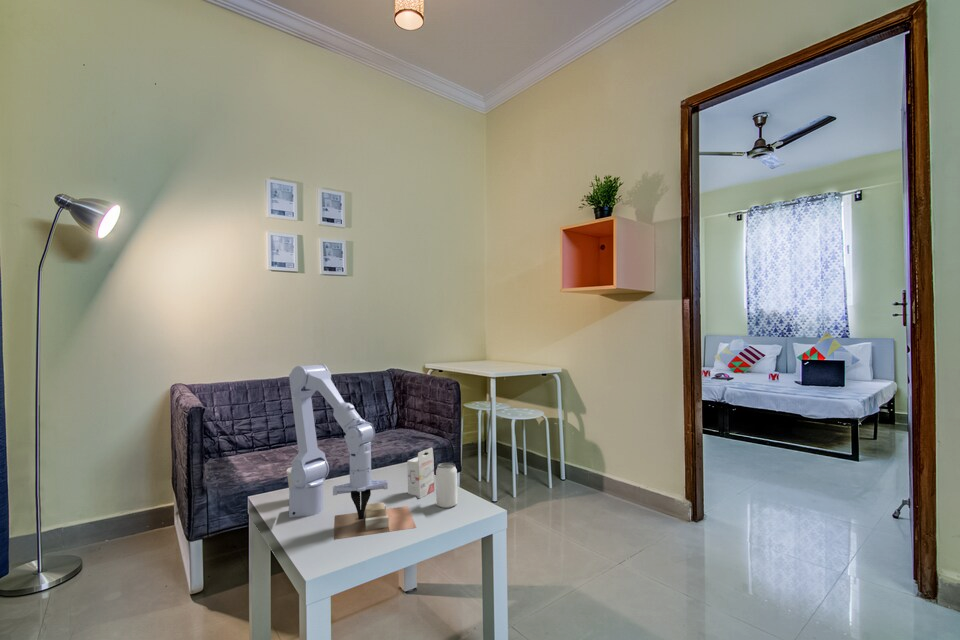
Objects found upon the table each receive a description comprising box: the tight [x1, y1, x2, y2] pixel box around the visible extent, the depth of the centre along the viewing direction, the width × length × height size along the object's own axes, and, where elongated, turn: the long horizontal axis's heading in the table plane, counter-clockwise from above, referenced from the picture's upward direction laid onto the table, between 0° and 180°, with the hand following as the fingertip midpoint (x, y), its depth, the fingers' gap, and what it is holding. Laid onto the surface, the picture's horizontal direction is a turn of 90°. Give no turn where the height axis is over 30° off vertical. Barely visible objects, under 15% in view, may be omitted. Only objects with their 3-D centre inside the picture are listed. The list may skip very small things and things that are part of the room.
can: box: [435, 462, 458, 509], centre depth 138 cm, size 6×6×12 cm
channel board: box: [333, 503, 417, 541], centre depth 124 cm, size 21×16×4 cm
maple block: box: [365, 502, 385, 518], centre depth 124 cm, size 5×5×4 cm
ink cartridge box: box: [406, 446, 435, 499], centre depth 148 cm, size 9×5×15 cm, turn 151°
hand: (360, 517), depth 123 cm, fingers closed
